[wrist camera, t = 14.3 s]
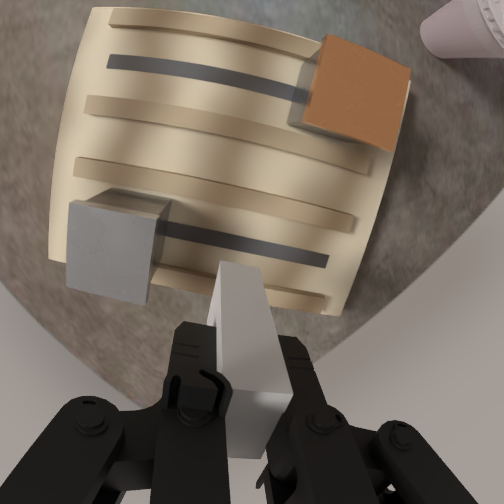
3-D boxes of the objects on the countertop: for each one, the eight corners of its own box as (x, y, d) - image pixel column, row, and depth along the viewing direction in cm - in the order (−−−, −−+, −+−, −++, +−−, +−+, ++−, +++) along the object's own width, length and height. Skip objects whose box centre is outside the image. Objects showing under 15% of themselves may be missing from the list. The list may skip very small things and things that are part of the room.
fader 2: (282, 126, 18) (305, 121, 13) (299, 60, 17) (327, 33, 11) (348, 146, 19) (392, 151, 13) (364, 83, 17) (411, 69, 12)
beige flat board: (60, 249, 22) (43, 262, 19) (102, 16, 16) (88, 3, 13) (332, 303, 25) (343, 322, 23) (397, 83, 19) (417, 79, 17)
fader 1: (102, 248, 20) (66, 286, 14) (109, 183, 18) (68, 202, 13) (164, 262, 20) (145, 305, 15) (175, 196, 19) (156, 219, 14)
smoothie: (391, 24, 18) (522, -34, 5) (430, -6, 17) (545, -55, 3) (441, 88, 20) (584, 82, 7) (475, 52, 18) (598, 38, 5)
